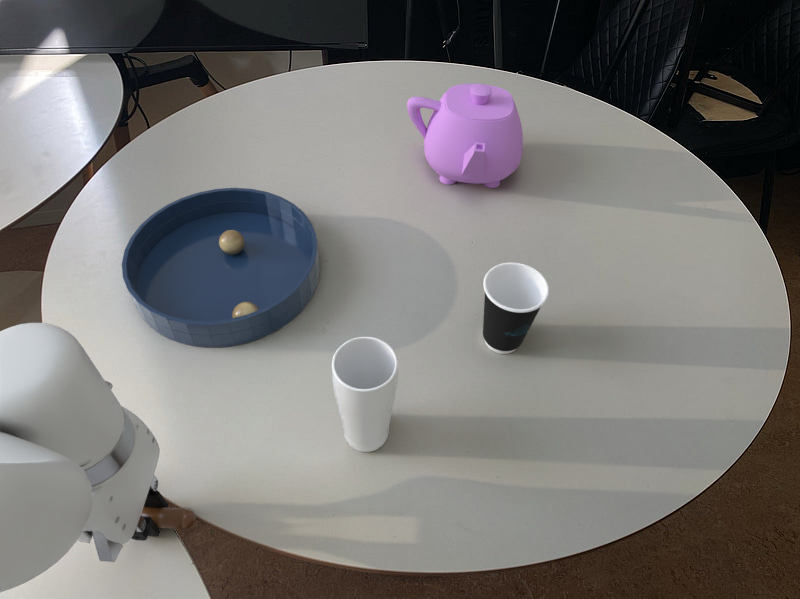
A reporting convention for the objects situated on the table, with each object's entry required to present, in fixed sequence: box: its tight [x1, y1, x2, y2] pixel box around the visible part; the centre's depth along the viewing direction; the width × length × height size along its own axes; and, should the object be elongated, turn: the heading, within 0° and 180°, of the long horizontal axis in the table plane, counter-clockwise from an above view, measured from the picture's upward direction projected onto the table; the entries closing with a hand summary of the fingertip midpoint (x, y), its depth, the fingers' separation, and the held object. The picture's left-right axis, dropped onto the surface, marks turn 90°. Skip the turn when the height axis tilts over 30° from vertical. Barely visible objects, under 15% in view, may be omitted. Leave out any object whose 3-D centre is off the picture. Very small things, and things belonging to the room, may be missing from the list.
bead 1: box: [219, 230, 245, 255], centre depth 87 cm, size 4×4×4 cm
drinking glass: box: [331, 336, 399, 453], centre depth 65 cm, size 7×7×15 cm
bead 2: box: [232, 302, 259, 318], centre depth 79 cm, size 4×4×4 cm
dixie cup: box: [482, 261, 550, 355], centre depth 76 cm, size 8×8×11 cm
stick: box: [141, 507, 197, 530], centre depth 63 cm, size 2×9×2 cm, turn 88°
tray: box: [121, 187, 321, 348], centre depth 85 cm, size 26×26×5 cm
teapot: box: [406, 83, 524, 189], centre depth 97 cm, size 20×20×15 cm
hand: (149, 519), depth 63 cm, fingers closed on stick, 2 cm apart
